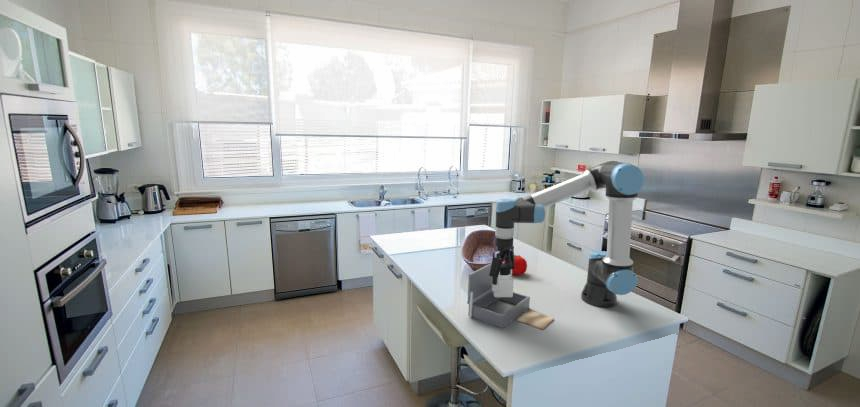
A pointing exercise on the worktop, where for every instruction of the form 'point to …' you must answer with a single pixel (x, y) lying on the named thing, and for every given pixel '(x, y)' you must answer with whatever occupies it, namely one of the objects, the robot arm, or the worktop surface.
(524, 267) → the tomato
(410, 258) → the worktop surface
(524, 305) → the case
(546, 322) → the mat
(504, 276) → the container
